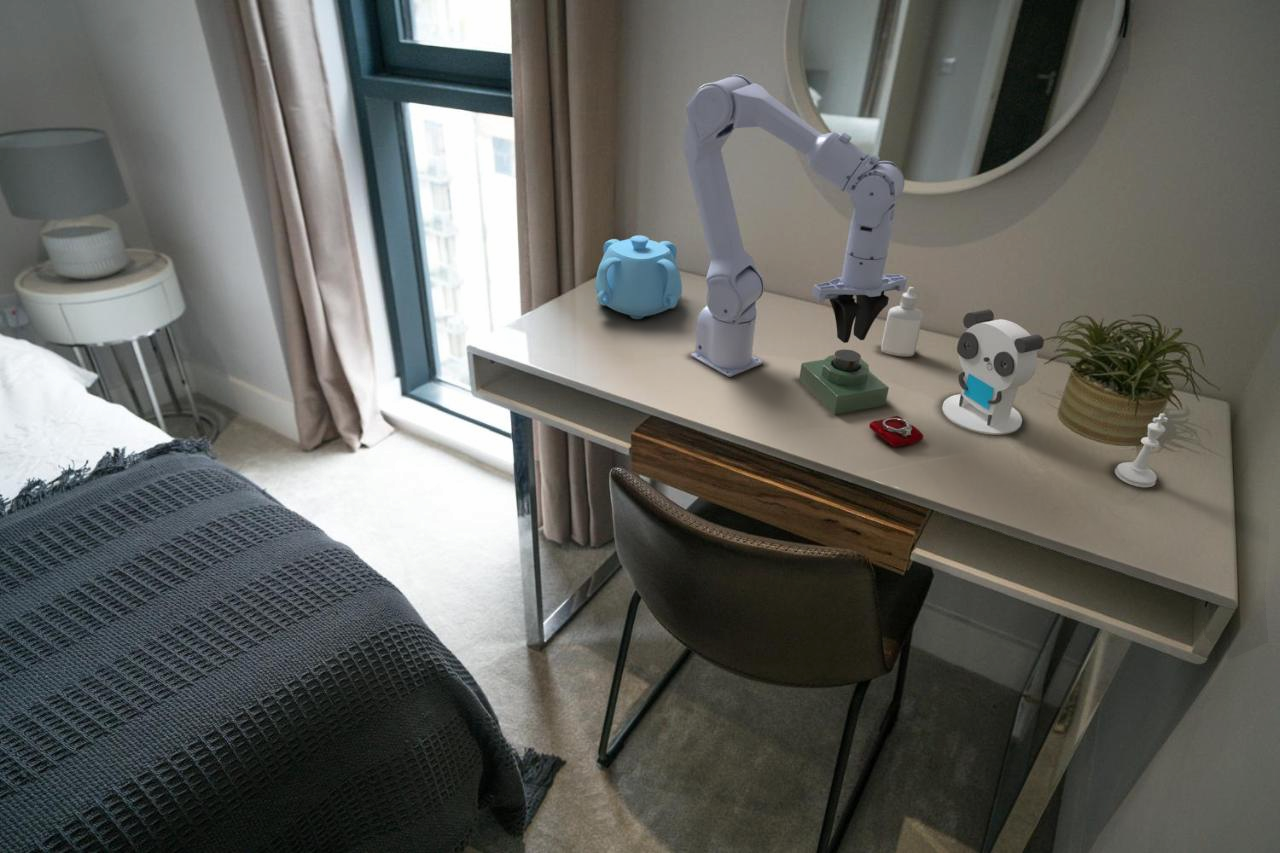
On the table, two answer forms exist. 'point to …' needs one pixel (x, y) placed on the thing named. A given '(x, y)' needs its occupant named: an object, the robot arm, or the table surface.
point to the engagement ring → (896, 431)
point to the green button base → (843, 386)
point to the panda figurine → (991, 373)
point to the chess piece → (1143, 458)
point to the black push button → (846, 360)
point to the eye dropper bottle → (902, 327)
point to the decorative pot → (638, 276)
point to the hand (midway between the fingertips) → (850, 338)
